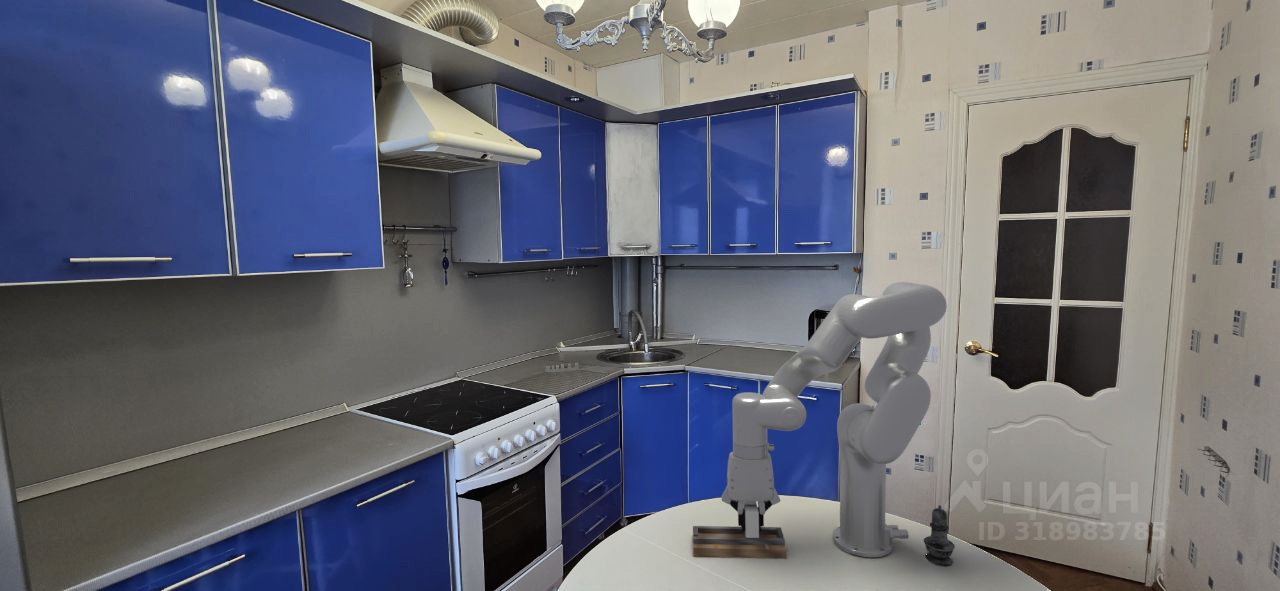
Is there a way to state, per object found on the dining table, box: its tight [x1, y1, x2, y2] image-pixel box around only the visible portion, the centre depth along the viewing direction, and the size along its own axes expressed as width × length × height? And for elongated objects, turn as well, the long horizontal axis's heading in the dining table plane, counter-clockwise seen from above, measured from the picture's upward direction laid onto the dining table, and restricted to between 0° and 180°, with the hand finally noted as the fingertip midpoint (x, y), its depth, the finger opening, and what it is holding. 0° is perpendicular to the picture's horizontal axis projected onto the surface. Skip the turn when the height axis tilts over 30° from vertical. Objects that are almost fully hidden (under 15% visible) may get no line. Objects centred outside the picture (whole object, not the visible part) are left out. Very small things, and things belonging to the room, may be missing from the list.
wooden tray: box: [692, 525, 787, 560], centre depth 125 cm, size 20×9×4 cm, turn 85°
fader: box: [743, 501, 759, 538], centre depth 125 cm, size 3×6×8 cm, turn 175°
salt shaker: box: [923, 504, 956, 567], centre depth 118 cm, size 6×6×12 cm
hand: (750, 528), depth 125 cm, fingers closed on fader, 2 cm apart
